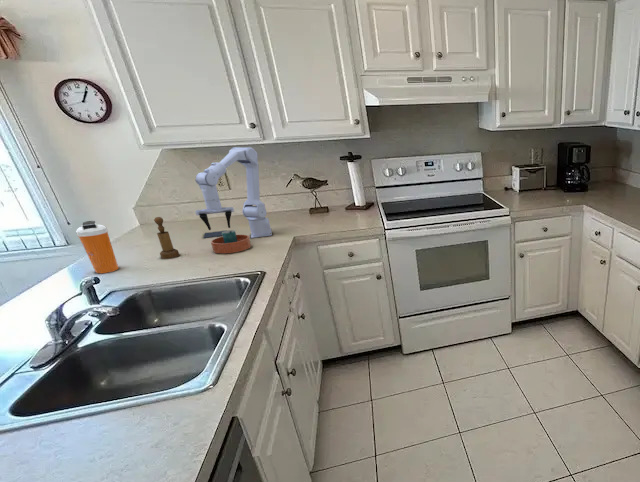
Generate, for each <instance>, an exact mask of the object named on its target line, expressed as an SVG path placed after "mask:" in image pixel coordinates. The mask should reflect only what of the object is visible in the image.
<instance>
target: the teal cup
mask: <svg viewBox="0 0 640 482" xmlns="http://www.w3.org/2000/svg"><path fill="white" fill-rule="evenodd" d="M223 231H224V232H222V236H221V237H223V240H224V243H233V242H238V240H237V236H236V235H237V233H236V230H234V229H232V230H231V229H230V230H223Z"/></svg>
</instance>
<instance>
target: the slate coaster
mask: <svg viewBox="0 0 640 482" xmlns="http://www.w3.org/2000/svg"><path fill="white" fill-rule="evenodd" d="M224 231H225V230H219V231H210V232H205V233H204V235H203V239H209V238H219V237H223V236H222V232H224Z"/></svg>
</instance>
